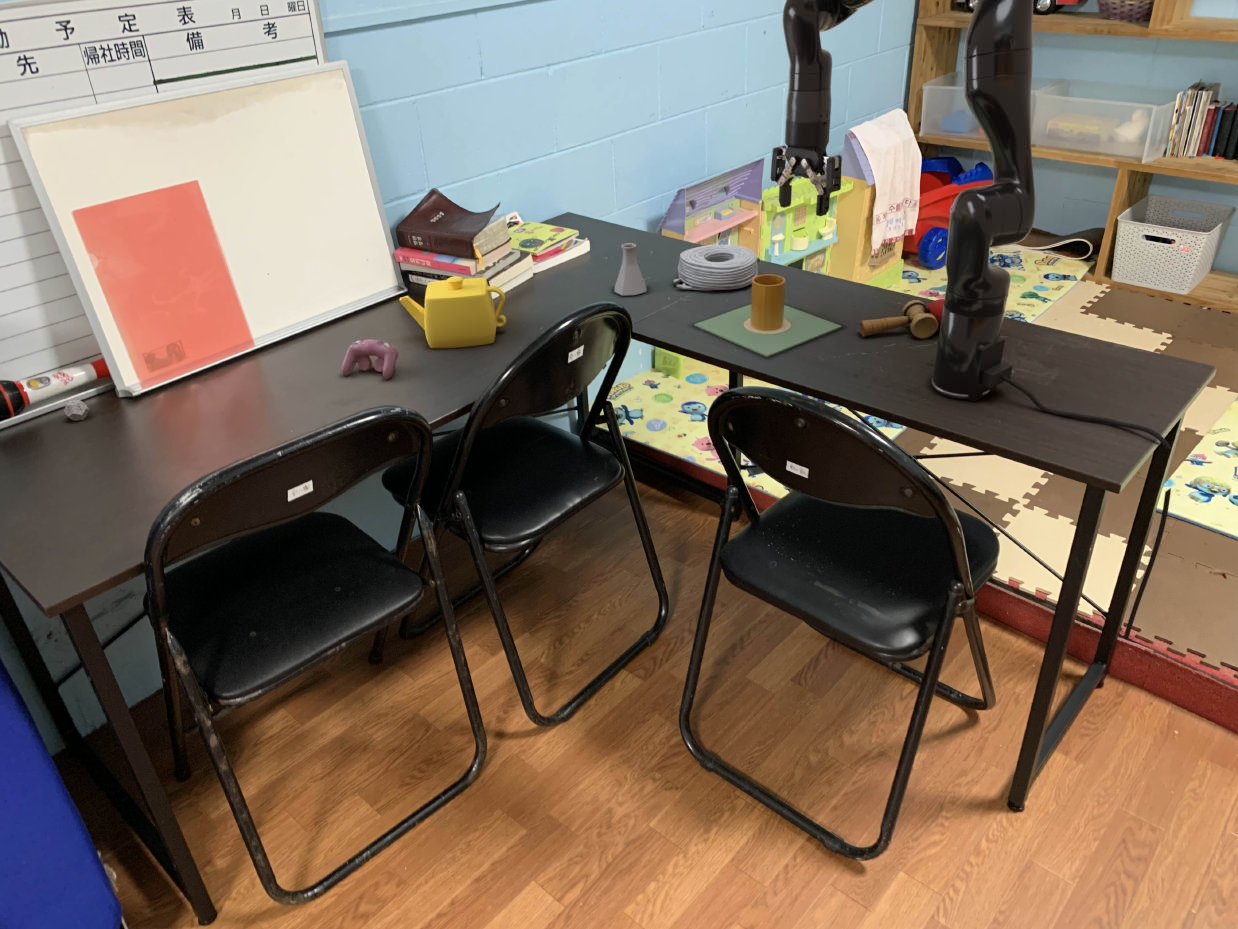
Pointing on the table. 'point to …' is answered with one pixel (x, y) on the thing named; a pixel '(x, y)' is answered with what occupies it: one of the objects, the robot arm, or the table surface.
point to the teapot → (458, 312)
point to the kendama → (909, 319)
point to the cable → (716, 268)
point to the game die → (76, 410)
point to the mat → (767, 343)
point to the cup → (767, 302)
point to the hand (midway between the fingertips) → (803, 210)
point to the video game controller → (361, 354)
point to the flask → (629, 273)
